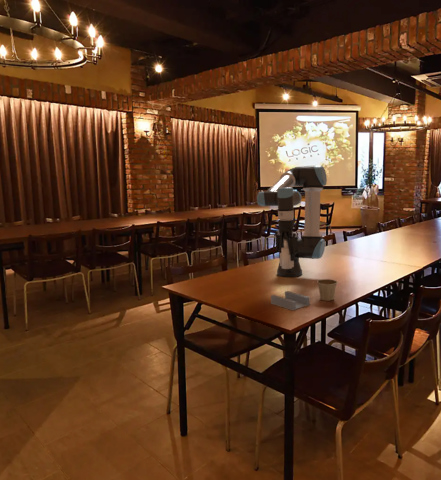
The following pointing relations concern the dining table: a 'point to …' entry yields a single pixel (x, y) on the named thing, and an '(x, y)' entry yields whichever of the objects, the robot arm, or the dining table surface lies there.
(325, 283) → the flower pot
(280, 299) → the cradle
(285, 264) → the bottle
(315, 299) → the dining table surface
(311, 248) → the robot arm
